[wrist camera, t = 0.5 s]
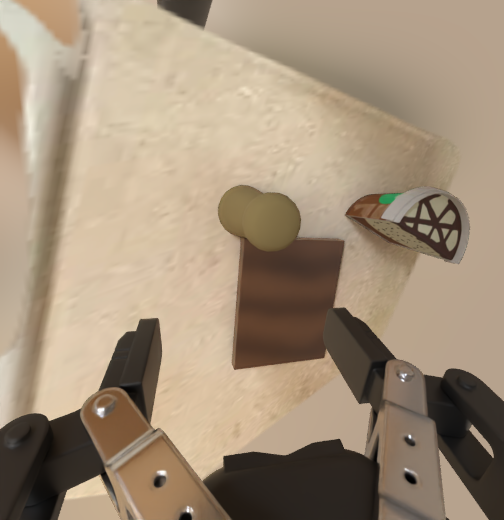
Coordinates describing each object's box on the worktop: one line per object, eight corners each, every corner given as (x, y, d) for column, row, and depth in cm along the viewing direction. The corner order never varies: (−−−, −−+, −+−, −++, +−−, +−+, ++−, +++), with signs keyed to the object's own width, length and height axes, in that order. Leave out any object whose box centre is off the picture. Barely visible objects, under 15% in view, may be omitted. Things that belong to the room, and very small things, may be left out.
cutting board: (241, 236, 34) (244, 238, 32) (338, 238, 38) (344, 240, 37) (231, 363, 38) (234, 370, 37) (319, 352, 43) (324, 358, 41)
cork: (209, 199, 31) (232, 208, 21) (255, 176, 32) (298, 175, 22) (231, 244, 33) (261, 272, 23) (273, 222, 34) (320, 240, 24)
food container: (416, 210, 41) (490, 219, 32) (395, 246, 41) (461, 266, 32) (359, 167, 36) (427, 163, 27) (336, 210, 37) (395, 220, 27)
